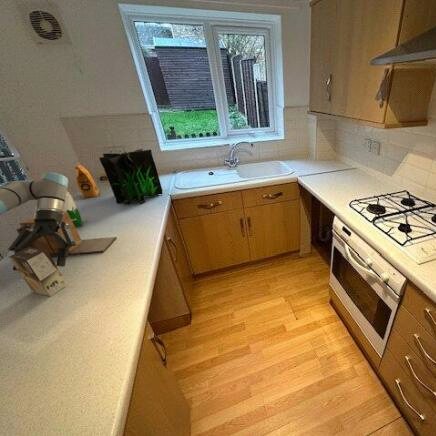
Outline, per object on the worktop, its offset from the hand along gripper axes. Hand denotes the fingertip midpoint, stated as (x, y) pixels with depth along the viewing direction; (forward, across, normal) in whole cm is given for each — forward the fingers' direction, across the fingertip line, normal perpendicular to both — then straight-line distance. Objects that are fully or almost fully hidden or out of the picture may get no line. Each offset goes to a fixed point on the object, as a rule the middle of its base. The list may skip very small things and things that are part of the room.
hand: (39, 268), depth 85 cm
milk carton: (-31, +23, -44) cm, 59 cm away
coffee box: (+7, 0, -6) cm, 9 cm away
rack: (-13, +7, -26) cm, 30 cm away
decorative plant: (-58, +3, -71) cm, 92 cm away
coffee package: (-65, +40, -78) cm, 109 cm away
